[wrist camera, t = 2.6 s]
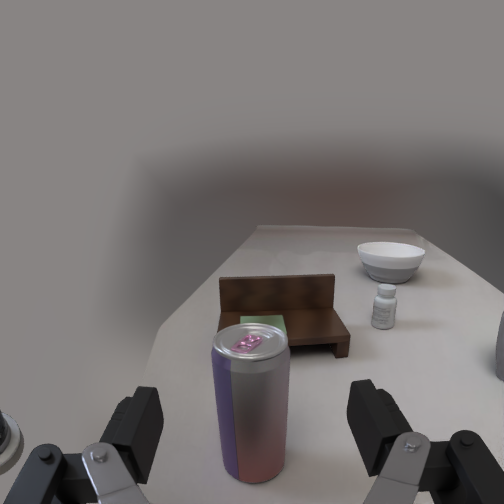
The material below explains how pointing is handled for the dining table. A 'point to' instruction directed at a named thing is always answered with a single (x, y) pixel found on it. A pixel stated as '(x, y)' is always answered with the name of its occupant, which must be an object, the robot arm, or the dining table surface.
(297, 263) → the dining table surface
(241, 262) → the dining table surface
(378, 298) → the pill bottle
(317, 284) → the wooden stand
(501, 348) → the mug
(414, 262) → the bowl
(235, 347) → the beverage can
